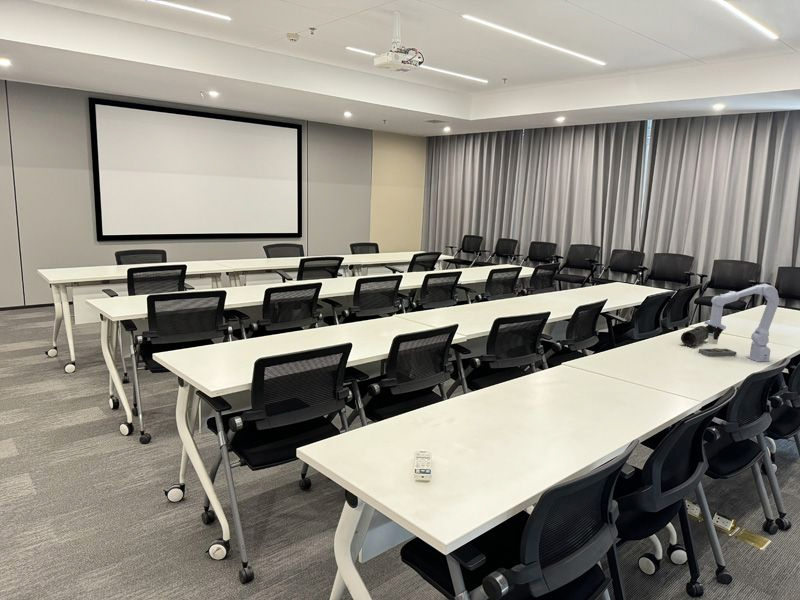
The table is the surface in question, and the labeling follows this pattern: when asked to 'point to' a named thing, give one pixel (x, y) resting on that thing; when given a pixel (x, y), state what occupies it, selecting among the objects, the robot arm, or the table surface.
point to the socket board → (717, 352)
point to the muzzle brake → (694, 336)
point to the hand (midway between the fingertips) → (713, 338)
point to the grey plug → (711, 339)
